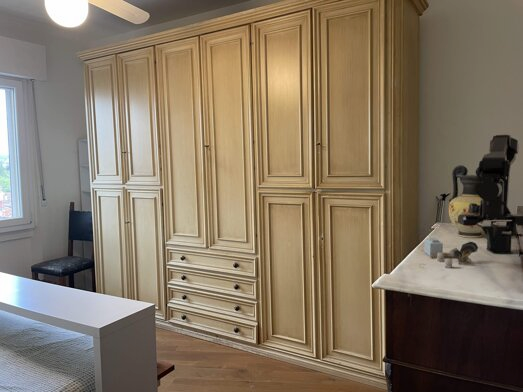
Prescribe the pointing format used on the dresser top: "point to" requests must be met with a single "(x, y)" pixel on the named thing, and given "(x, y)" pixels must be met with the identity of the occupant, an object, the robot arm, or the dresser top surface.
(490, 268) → the dresser top surface
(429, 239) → the block
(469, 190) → the amphora
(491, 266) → the dresser top surface
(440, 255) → the pin seat fixture
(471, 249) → the eagle figurine
